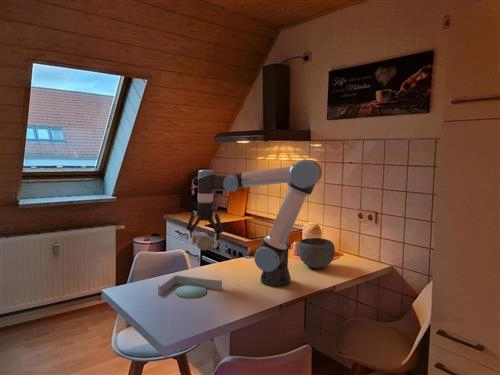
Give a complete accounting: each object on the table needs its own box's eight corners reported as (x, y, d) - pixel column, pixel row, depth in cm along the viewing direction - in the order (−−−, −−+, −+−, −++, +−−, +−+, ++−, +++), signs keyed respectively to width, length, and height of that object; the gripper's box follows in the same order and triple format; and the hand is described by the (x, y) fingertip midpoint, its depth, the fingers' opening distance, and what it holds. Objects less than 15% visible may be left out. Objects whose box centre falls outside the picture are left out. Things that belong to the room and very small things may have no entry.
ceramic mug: (197, 251, 181) (198, 235, 180) (193, 247, 189) (194, 232, 188) (218, 250, 185) (219, 235, 184) (214, 246, 193) (214, 231, 192)
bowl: (329, 261, 228) (330, 237, 226) (338, 273, 207) (340, 246, 205) (294, 261, 227) (295, 236, 226) (300, 272, 206) (301, 245, 205)
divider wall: (222, 288, 179) (222, 280, 178) (221, 289, 177) (221, 281, 177) (175, 282, 185) (175, 274, 184) (174, 283, 184) (174, 275, 183)
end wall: (175, 283, 184) (175, 275, 183) (160, 294, 169) (160, 286, 169) (173, 283, 184) (173, 275, 184) (158, 294, 169) (158, 285, 169)
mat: (210, 288, 178) (210, 287, 178) (199, 299, 165) (199, 298, 165) (183, 285, 182) (183, 283, 182) (170, 295, 169) (170, 293, 168)
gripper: (230, 202, 185) (229, 245, 187) (186, 199, 191) (185, 241, 193) (225, 204, 178) (224, 249, 180) (179, 201, 184) (179, 244, 186)
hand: (204, 245), depth 187 cm, fingers closed on ceramic mug, 11 cm apart
